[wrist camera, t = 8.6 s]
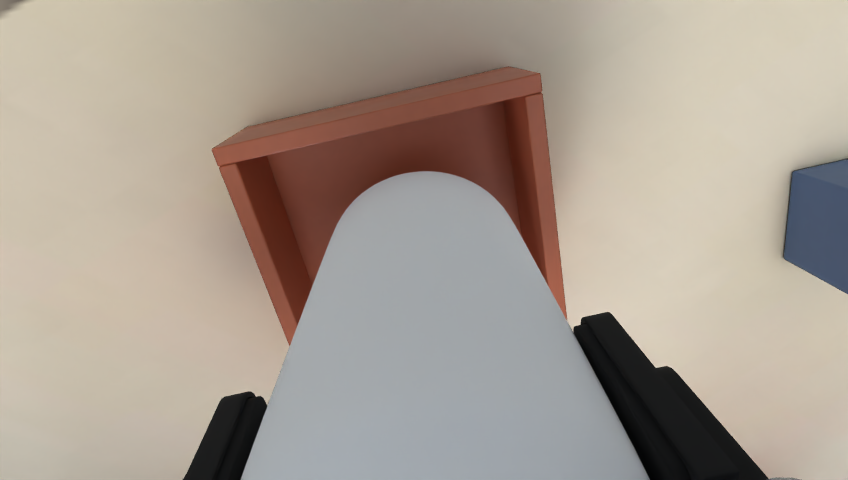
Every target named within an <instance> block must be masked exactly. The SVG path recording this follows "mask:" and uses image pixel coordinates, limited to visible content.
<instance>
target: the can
mask: <svg viewBox="0 0 848 480" xmlns="http://www.w3.org/2000/svg"><path fill="white" fill-rule="evenodd" d="M241 480H650V479H649V477H648V475H647V473H646V471H645V469H644V467H643V464H642V462H641V460H640V458H639V456H638V454H637V452H636V450H635V448H634V446H633V444H632V443H631V441H630V439H629V437H628V435H627V433H626V431H625V429H624V427H623V425H622V423H621V422H620V420H619V418H618V416H617V414H616V412H615V410H614V408H613V406H612V404H611V402H610V400H609V399H608V397H607V395H606V393H605V391H604V389H603V387H602V385H601V384H600V382H599V380H598V378H597V376H596V374H595V372H594V370H593V369H592V367H591V365H590V363H589V361H588V359H587V357H586V355H585V354H584V352H583V350H582V348H581V346H580V344H579V342H578V340H577V339H576V337H575V335H574V333H573V331H572V329H571V327H570V325H569V324H568V322H567V320H566V318H565V316H564V314H563V312H562V311H561V309H560V307H559V305H558V303H557V301H556V299H555V298H554V296H553V294H552V292H551V290H550V288H549V286H548V285H547V283H546V281H545V279H544V277H543V275H542V274H541V272H540V270H539V268H538V266H537V264H536V262H535V261H534V259H533V257H532V255H531V253H530V251H529V250H528V248H527V246H526V244H525V242H524V240H523V239H522V237H521V235H520V233H519V231H518V230H517V228H516V226H515V224H514V223H513V221H512V219H511V218H510V216H509V215H508V213H507V212H506V210H505V209H504V208H503V206H502V205H501V204H500V203H499V202H498V201H497V200H496V199H495V198H494V197H493V196H492V195H491V194H490V193H489V192H487V191H486V190H485V189H483V188H482V187H480V186H479V185H477V184H475V183H473V182H471V181H469V180H467V179H464V178H462V177H459V176H456V175H452V174H448V173H442V172H434V171H418V172H410V173H404V174H400V175H396V176H393V177H390V178H388V179H385V180H383V181H381V182H379V183H377V184H375V185H373V186H372V187H370V188H369V189H367V190H366V191H364V192H363V193H362V194H361V195H359V196H358V197H357V198H356V199H355V200H354V201H353V202H352V203H351V204H350V205H349V207H348V208H347V209H346V211H345V212H344V213H343V215H342V216H341V218H340V220H339V222H338V223H337V225H336V228H335V230H334V232H333V234H332V237H331V239H330V242H329V244H328V247H327V249H326V252H325V254H324V257H323V260H322V262H321V265H320V267H319V270H318V273H317V275H316V278H315V281H314V283H313V286H312V288H311V291H310V294H309V296H308V299H307V302H306V304H305V307H304V310H303V312H302V315H301V318H300V320H299V323H298V326H297V328H296V331H295V334H294V336H293V339H292V342H291V344H290V347H289V350H288V352H287V355H286V358H285V360H284V363H283V366H282V368H281V371H280V374H279V376H278V379H277V382H276V384H275V387H274V390H273V392H272V395H271V398H270V401H269V403H268V406H267V409H266V411H265V414H264V417H263V419H262V422H261V425H260V428H259V430H258V433H257V436H256V439H255V441H254V444H253V447H252V450H251V452H250V455H249V458H248V461H247V463H246V466H245V469H244V472H243V474H242V477H241Z"/></svg>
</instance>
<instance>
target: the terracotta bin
mask: <svg viewBox="0 0 848 480" xmlns="http://www.w3.org/2000/svg"><path fill="white" fill-rule="evenodd" d="M541 92H542V83H541V74H540V73H536V72H531V71H527V70H522V69H518V68H513V67H504V68H500V69H496V70H491V71H487V72H483V73H479V74H474V75H470V76H466V77H461V78H457V79H453V80H448V81H444V82H440V83H435V84H431V85H427V86H422V87H418V88H414V89H409V90H405V91H401V92H396V93H392V94H388V95H383V96H379V97H375V98H370V99H366V100H362V101H357V102H353V103H349V104H344V105H340V106H336V107H331V108H327V109H323V110H318V111H314V112H310V113H305V114H301V115H297V116H292V117H288V118H284V119H279V120H275V121H271V122H266V123H262V124H258V125H253V126H249V127H246V128H245V129H243V130H241V131H240V132H238V133H236V134H235V135H233V136H232V137H230V138H228V139H227V140H225V141H224V142H222V143H220V144H219V145H217V146H216V147H214V148H212V152H213V155H214V157H215V160H216V162H217V165H218V166H220V167H219V169H220V172H221V174H222V177H223V179H224V182H225V184H226V187H227V189H228V192H229V195H230V197H231V200H232V202H233V205H234V207H235V210H236V212H237V215H238V217H239V220H240V222H241V225H242V227H243V230H244V232H245V235H246V237H247V240H248V242H249V245H250V248H251V250H252V253H253V255H254V258H255V260H256V263H257V265H258V268H259V270H260V273H261V275H262V278H263V280H264V283H265V285H266V288H267V290H268V293H269V295H270V298H271V300H272V303H273V306H274V308H275V311H276V313H277V316H278V318H279V321H280V323H281V326H282V328H283V331H284V333H285V336H286V338H287V341H288V343H289V346H290V344H291V342H292V339H293V336H294V334H295V331H296V328H297V326H298V323H299V320H300V318H301V315H302V312H303V310H304V307H305V304H306V302H307V299H308V296H309V294H310V291H311V288H312V286H313V283H314V281H315V278H316V275H317V273H318V270H319V267H320V265H321V262H322V260H323V257H324V254H325V252H326V249H327V247H328V244H329V242H330V239H331V237H332V234H333V232H334V230H335V228H336V225H337V223H338V222H339V220H340V218H341V216H342V215H343V213H344V212H345V211H346V209H347V208H348V207H349V205H350V204H351V203H352V202H353V201H354V200H355V199H356V198H357V197H358V196H359V195H361V194H362V193H363V192H364V191H366V190H367V189H369V188H370V187H372V186H373V185H375V184H377V183H379V182H381V181H383V180H385V179H388V178H390V177H393V176H396V175H400V174H404V173H410V172H418V171H434V172H442V173H448V174H452V175H456V176H459V177H462V178H464V179H467V180H469V181H471V182H473V183H475V184H477V185H479V186H480V187H482V188H483V189H485V190H486V191H487V192H489V193H490V194H491V195H492V196H493V197H494V198H495V199H496V200H497V201H498V202H499V203H500V204H501V205H502V206H503V208H504V209H505V210H506V212H507V213H508V215H509V216H510V218H511V219H512V221H513V223H514V224H515V226H516V228H517V230H518V231H519V233H520V235H521V237H522V239H523V240H524V242H525V244H526V246H527V248H528V250H529V251H530V253H531V255H532V257H533V259H534V261H535V262H536V264H537V266H538V268H539V270H540V272H541V274H542V275H543V277H544V279H545V281H546V283H547V285H548V286H549V288H550V290H551V292H552V294H553V296H554V298H555V299H556V301H557V303H558V305H559V307H560V309H561V311H562V312H563V314H564V316H565V318H566V320H567V315H566V305H565V296H564V287H563V278H562V268H561V259H560V250H559V241H558V231H557V222H556V213H555V204H554V194H553V185H552V176H551V167H550V157H549V148H548V139H547V130H546V121H545V111H544V102H543V94H542V93H541Z"/></svg>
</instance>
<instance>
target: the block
mask: <svg viewBox="0 0 848 480" xmlns="http://www.w3.org/2000/svg"><path fill="white" fill-rule="evenodd" d="M784 259H785V260H787V261H789V262H790V263H792V264H794V265H796V266H798V267H799V268H801V269H803V270H805V271H807V272H808V273H810V274H812V275H814V276H816V277H818V278H819V279H821V280H823V281H825V282H827V283H828V284H830V285H832V286H834V287H836V288H837V289H839V290H841V291H843V292H845V293H847V294H848V159H846V160H841V161H837V162H833V163H828V164H824V165H819V166H815V167H810V168H806V169H801V170H797V171H794V172H793V173H792V183H791V193H790V202H789V212H788V222H787V232H786V242H785V251H784Z"/></svg>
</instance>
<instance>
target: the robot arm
mask: <svg viewBox="0 0 848 480" xmlns="http://www.w3.org/2000/svg"><path fill="white" fill-rule="evenodd" d="M573 331H574V335H575V337H576V339H577V340H578V342H579V344H580V346H581V348H582V350H583V352H584V354H585V355H586V357H587V359H588V361H589V363H590V365H591V367H592V369H593V370H594V372H595V374H596V376H597V378H598V380H599V382H600V384H601V385H602V387H603V389H604V391H605V393H606V395H607V397H608V399H609V400H610V402H611V404H612V406H613V408H614V410H615V412H616V414H617V416H618V418H619V420H620V422H621V423H622V425H623V427H624V429H625V431H626V433H627V435H628V437H629V439H630V441H631V443H632V444H633V446H634V448H635V450H636V452H637V454H638V456H639V458H640V460H641V462H642V464H643V467H644V469H645V471H646V473H647V475H648V477H649V479H650V480H800V479H795V478H772V479H768V478H767V476H766V475H765V474H764V473H763V472H762V471H761V469H760V468H759V467H758V466H757V465H756V464H755V463H754V461H753V460H752V459H751V458H750V457H749V456H748V454H747V453H746V452H745V451H744V450H743V449H742V448H741V446H740V445H739V444H738V443H737V442H736V441H735V439H734V438H733V437H732V436H731V435H730V434H729V433H728V431H727V430H726V429H725V428H724V427H723V426H722V424H721V423H720V422H719V421H718V420H717V419H716V418H715V416H714V415H713V414H712V413H711V412H710V411H709V409H708V408H707V407H706V406H705V405H704V404H703V403H702V401H701V400H700V399H699V398H698V397H697V396H696V394H695V393H694V392H693V391H692V390H691V389H690V388H689V386H688V385H687V384H686V383H685V382H684V381H683V380H682V378H681V377H680V376H679V375H678V374H677V373H676V372H675V371H674V370H673V369H672V368H670V367H668V366H664V367H660V368H655V367H654V365H653V364H652V363H651V362H650V361H649V359H648V358H647V357H646V356H645V354H644V353H643V352H642V351H641V349H640V348H639V347H638V346H637V345H636V343H635V342H634V341H633V340H632V338H631V337H630V336H629V335H628V334H627V332H626V331H625V330H624V329H623V327H622V326H621V325H620V324H619V323H618V321H617V320H616V319H615V318H614V316H613V315H612V314H611V313H609V312H605V313H601V314H596V315H592V316H587V317H583V318H582V319H581V325H579V326H575V327H574V329H573ZM266 409H267V405H266V402H265V400H264V399H263V397H261V396H258V397H256V396H255V394H254V393H252V392H244V393H240V394H235V395H231V396H226V397H224V398H222V399H221V401H220V402H219V404H218V407H217V409H216V411H215V413H214V415H213V418H212V420H211V422H210V424H209V426H208V428H207V431H206V433H205V435H204V437H203V439H202V441H201V444H200V446H199V448H198V450H197V452H196V454H195V457H194V459H193V461H192V463H191V465H190V468H189V470H188V472H187V474H186V475H185V477H184V479H183V480H241V477H242V474H243V472H244V469H245V466H246V463H247V461H248V458H249V455H250V452H251V450H252V447H253V444H254V441H255V439H256V436H257V433H258V430H259V428H260V425H261V422H262V419H263V417H264V414H265V411H266Z"/></svg>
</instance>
